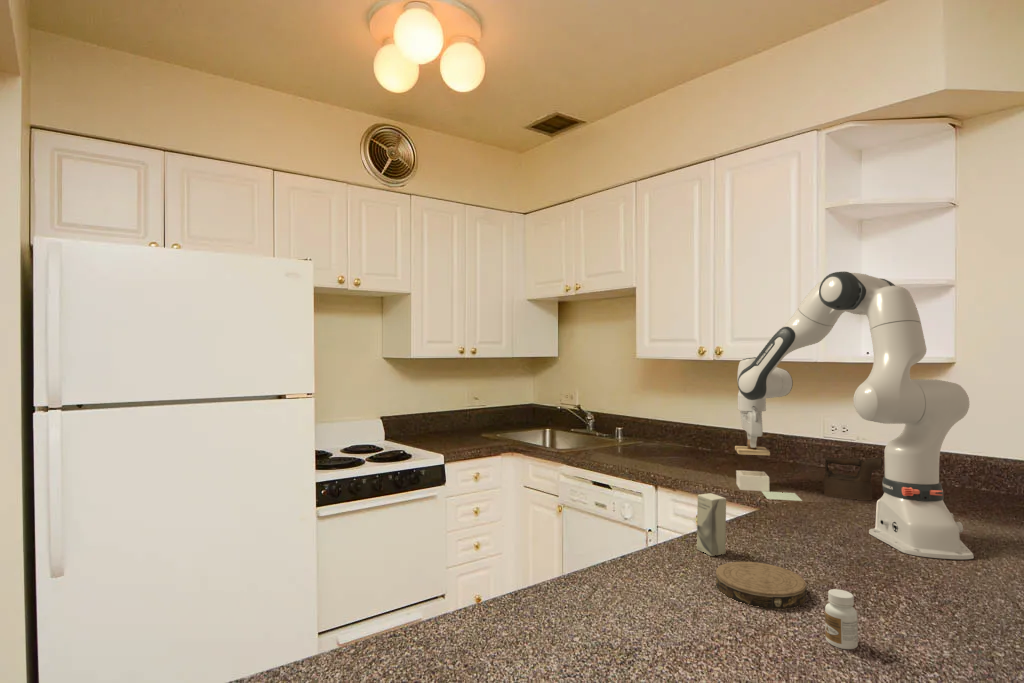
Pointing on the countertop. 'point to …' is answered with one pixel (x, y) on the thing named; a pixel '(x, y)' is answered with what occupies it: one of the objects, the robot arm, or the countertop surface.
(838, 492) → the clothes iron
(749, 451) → the lid
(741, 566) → the brown round disc
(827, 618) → the pill bottle
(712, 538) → the box
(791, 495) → the mat
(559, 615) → the countertop surface
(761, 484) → the dish
